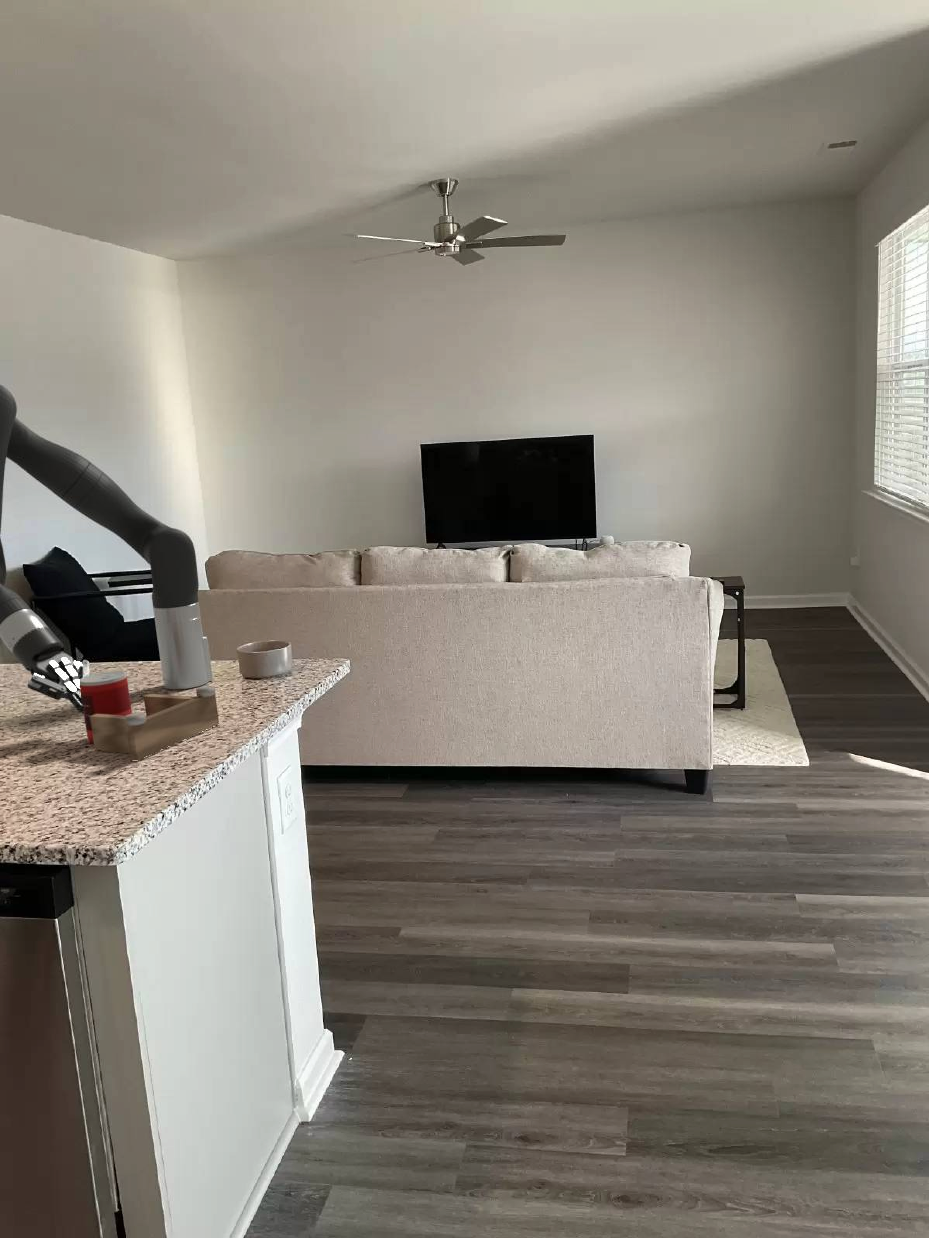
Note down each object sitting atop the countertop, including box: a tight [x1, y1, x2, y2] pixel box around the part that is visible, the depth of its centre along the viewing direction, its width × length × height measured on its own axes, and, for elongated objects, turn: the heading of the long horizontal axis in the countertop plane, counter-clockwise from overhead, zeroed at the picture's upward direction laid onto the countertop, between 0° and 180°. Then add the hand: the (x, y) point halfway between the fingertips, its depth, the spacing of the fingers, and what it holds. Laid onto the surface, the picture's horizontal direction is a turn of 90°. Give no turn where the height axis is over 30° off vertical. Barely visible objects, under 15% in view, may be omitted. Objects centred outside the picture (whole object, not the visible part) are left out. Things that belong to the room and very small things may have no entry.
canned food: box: [79, 670, 133, 744], centre depth 173 cm, size 8×8×11 cm
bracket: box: [90, 685, 220, 761], centre depth 170 cm, size 13×20×7 cm, turn 154°
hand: (89, 709), depth 175 cm, fingers closed
